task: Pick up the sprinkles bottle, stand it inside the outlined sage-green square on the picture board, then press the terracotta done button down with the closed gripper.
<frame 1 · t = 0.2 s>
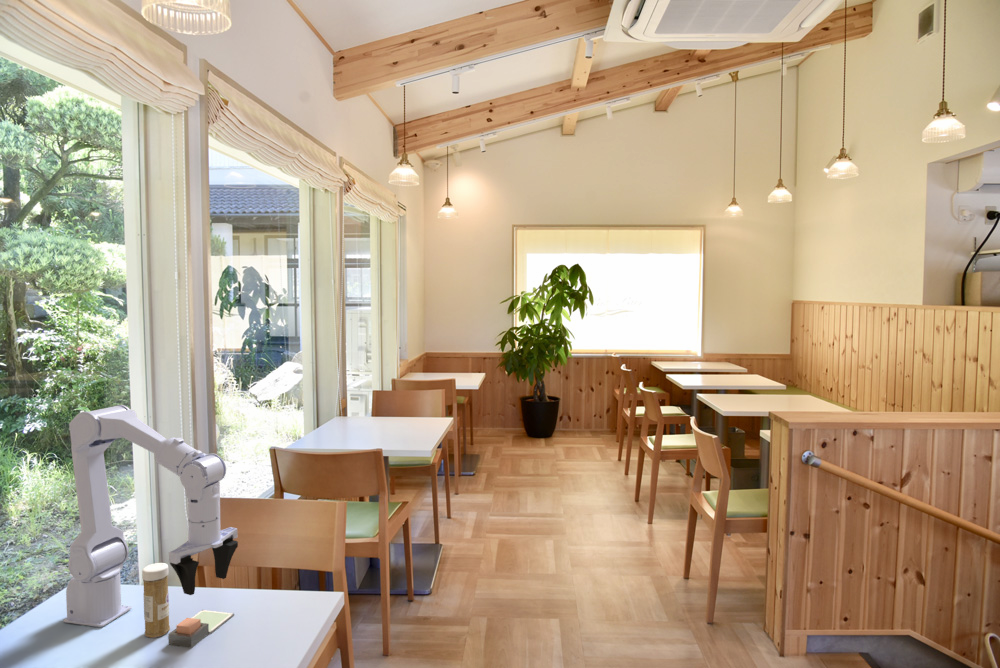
hand: (205, 585, 124), 10 cm above the table, tool pointing down, fingers open, 7 cm apart
done button: (188, 627, 122), point 3 cm above the table, slide at 0.0 cm
picture board: (206, 622, 129), on the table
button housing: (189, 639, 123), on the table
sprinkles bottle: (157, 633, 125), on the table
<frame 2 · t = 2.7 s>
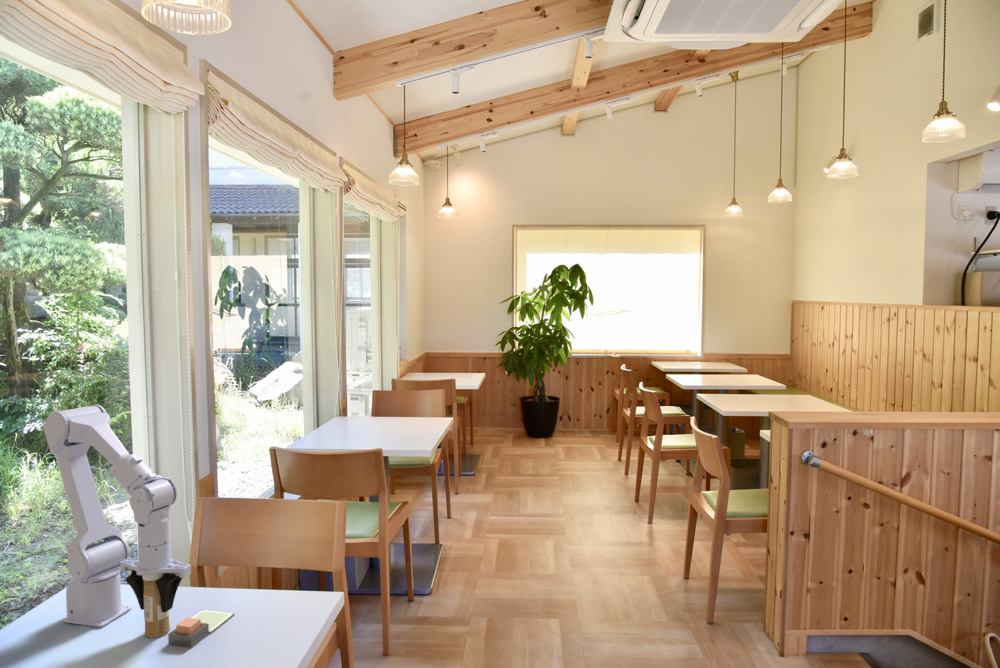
hand: (156, 608, 125), 5 cm above the table, tool pointing down, fingers closed on sprinkles bottle, 4 cm apart
sprinkles bottle: (157, 633, 125), on the table, touching gripper
everything else where it was.
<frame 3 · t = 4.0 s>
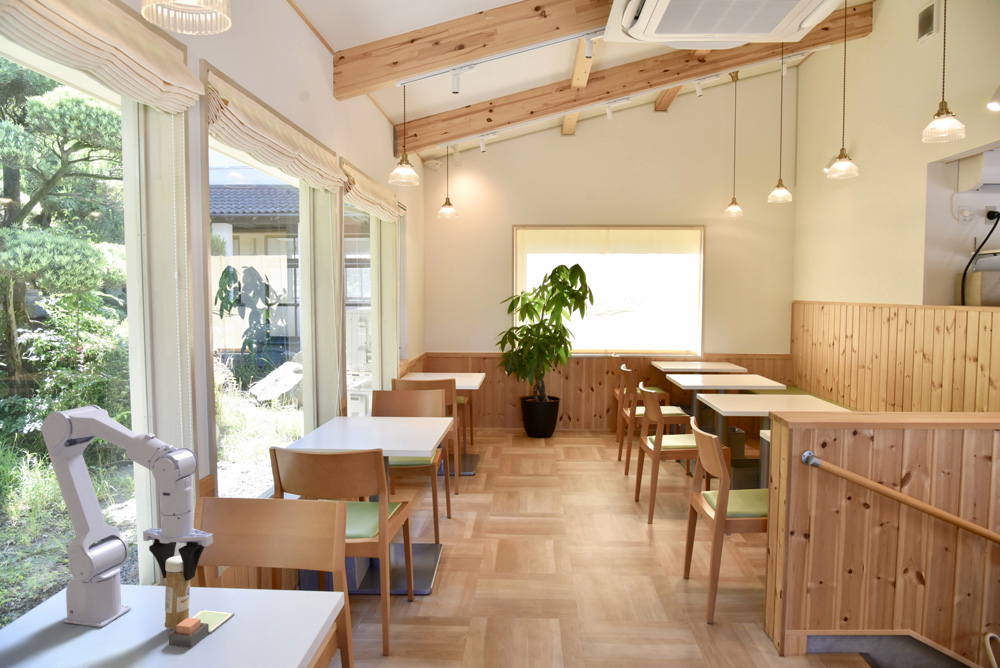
hand: (179, 577, 126), 10 cm above the table, tool pointing down, fingers closed on sprinkles bottle, 4 cm apart
sprinkles bottle: (176, 625, 126), point 1 cm above the table, touching gripper
everything else where it was.
when the fingers open (6 cm above the table, at t = 5.6 s): sprinkles bottle stays where it is, resting on picture board.
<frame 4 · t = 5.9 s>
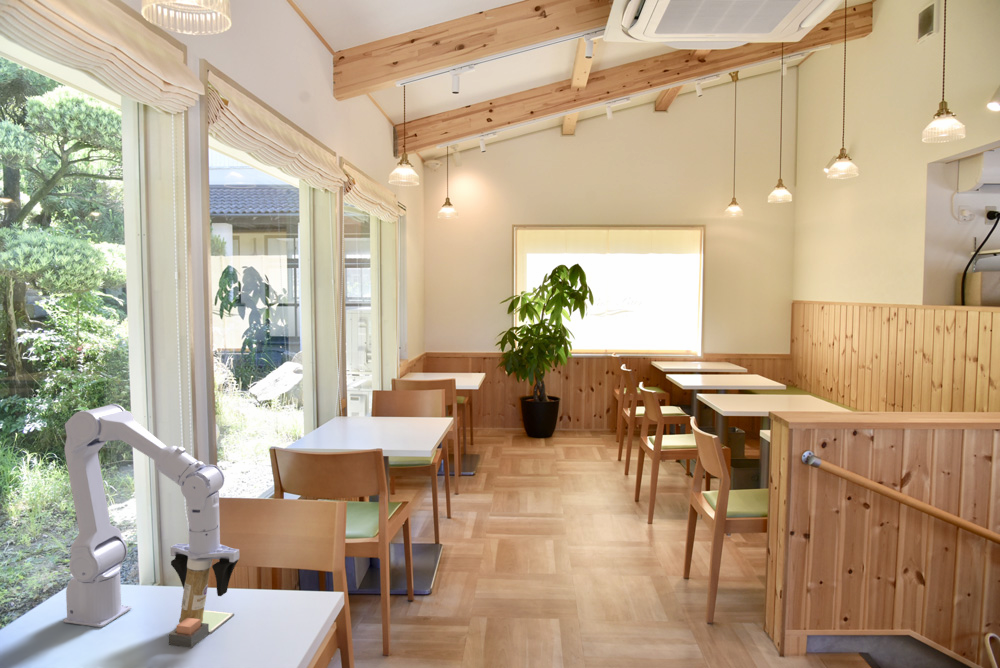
hand: (205, 592, 129), 6 cm above the table, tool pointing down, fingers open, 7 cm apart
sprinkles bottle: (190, 622, 128), point 1 cm above the table, touching gripper, picture board
everything else where it was.
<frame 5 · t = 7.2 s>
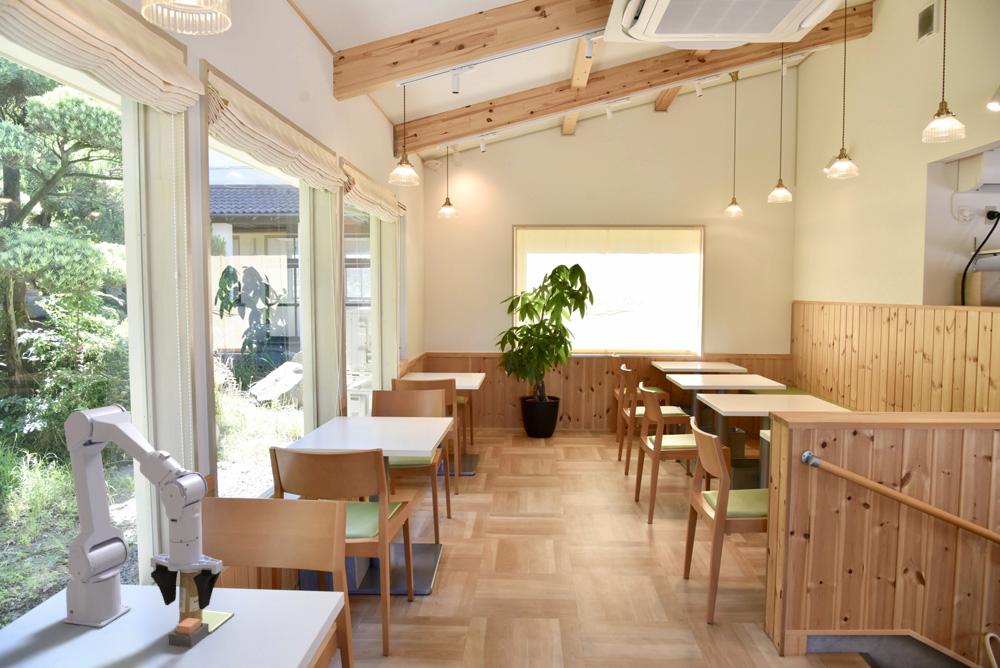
hand: (187, 604, 123), 6 cm above the table, tool pointing down, fingers open, 7 cm apart
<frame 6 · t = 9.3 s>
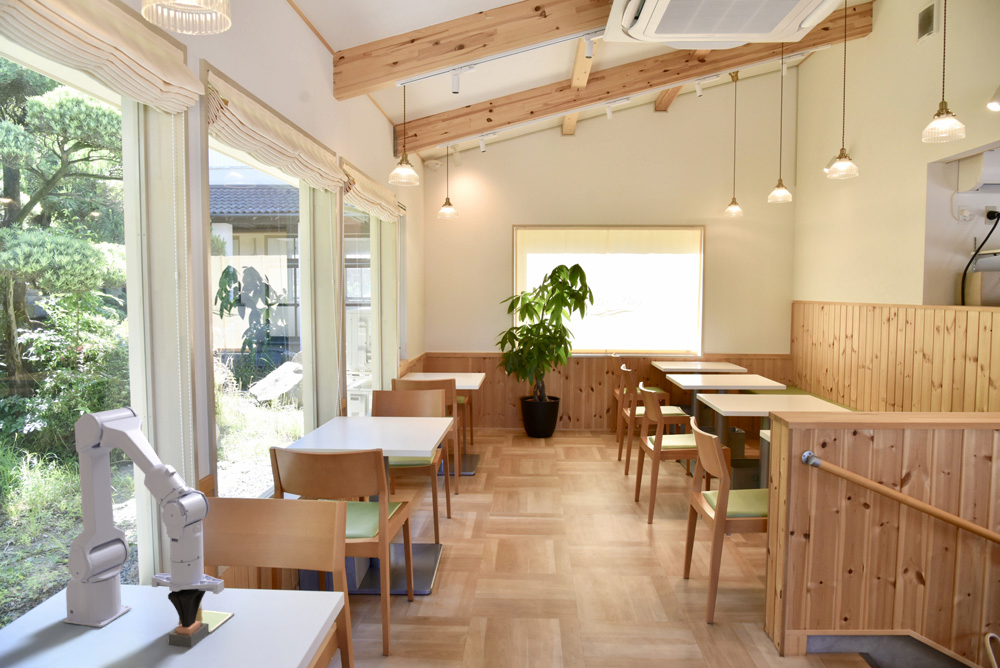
hand: (188, 624, 122), 3 cm above the table, tool pointing down, fingers closed, pressing on done button
done button: (188, 629, 122), point 2 cm above the table, slide at 0.4 cm, touching gripper
sprinkles bottle: (190, 624, 128), resting on picture board
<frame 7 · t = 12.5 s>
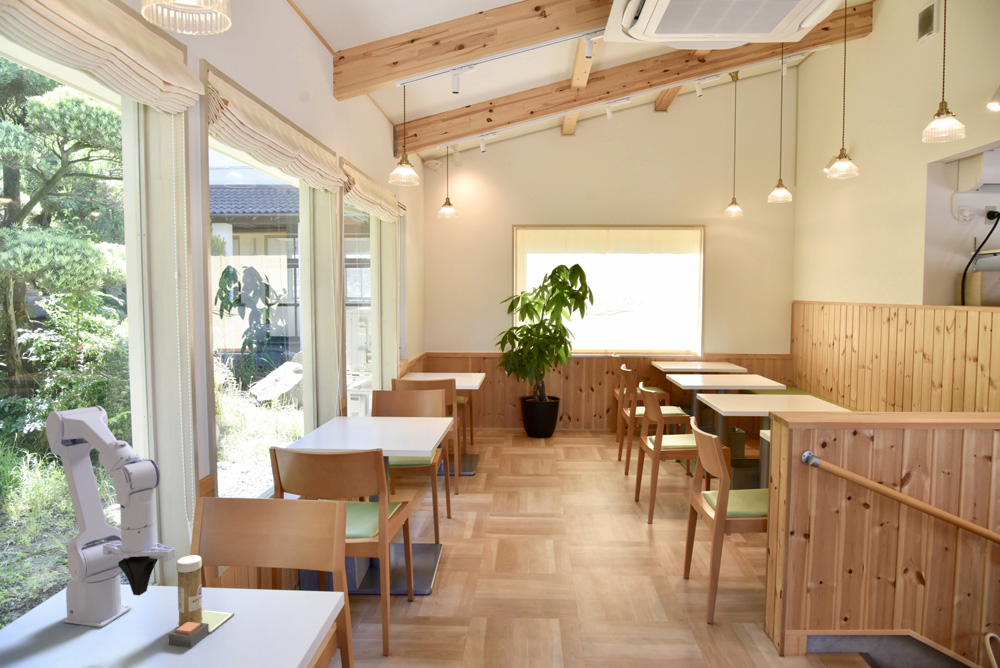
hand: (140, 592, 122), 9 cm above the table, tool pointing down, fingers closed
done button: (188, 631, 122), point 2 cm above the table, slide at 0.8 cm
everything else where it was.
at the end: sprinkles bottle 2.9 cm off-centre on the picture board, point 0.2 cm above the picture board's base; sprinkles bottle tilted 0°; done button slide at 0.8 cm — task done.
